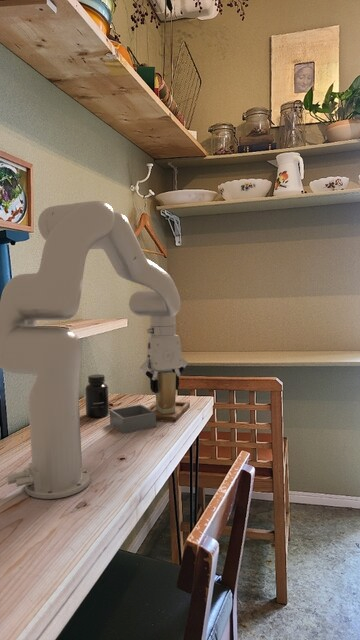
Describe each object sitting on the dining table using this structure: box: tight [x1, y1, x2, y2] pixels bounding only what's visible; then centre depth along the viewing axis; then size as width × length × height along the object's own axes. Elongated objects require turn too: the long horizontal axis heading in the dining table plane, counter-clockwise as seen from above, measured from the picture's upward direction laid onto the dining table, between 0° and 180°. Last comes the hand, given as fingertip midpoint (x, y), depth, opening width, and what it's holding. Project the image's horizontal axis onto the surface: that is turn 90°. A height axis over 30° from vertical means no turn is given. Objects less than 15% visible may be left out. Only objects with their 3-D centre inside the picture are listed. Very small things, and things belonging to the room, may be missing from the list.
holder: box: [109, 404, 157, 434], centre depth 123 cm, size 10×10×4 cm
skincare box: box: [155, 370, 177, 414], centre depth 133 cm, size 6×4×12 cm
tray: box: [140, 401, 191, 423], centre depth 134 cm, size 15×11×1 cm
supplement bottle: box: [84, 374, 110, 419], centre depth 133 cm, size 7×7×12 cm
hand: (165, 390), depth 133 cm, fingers open, 6 cm apart
